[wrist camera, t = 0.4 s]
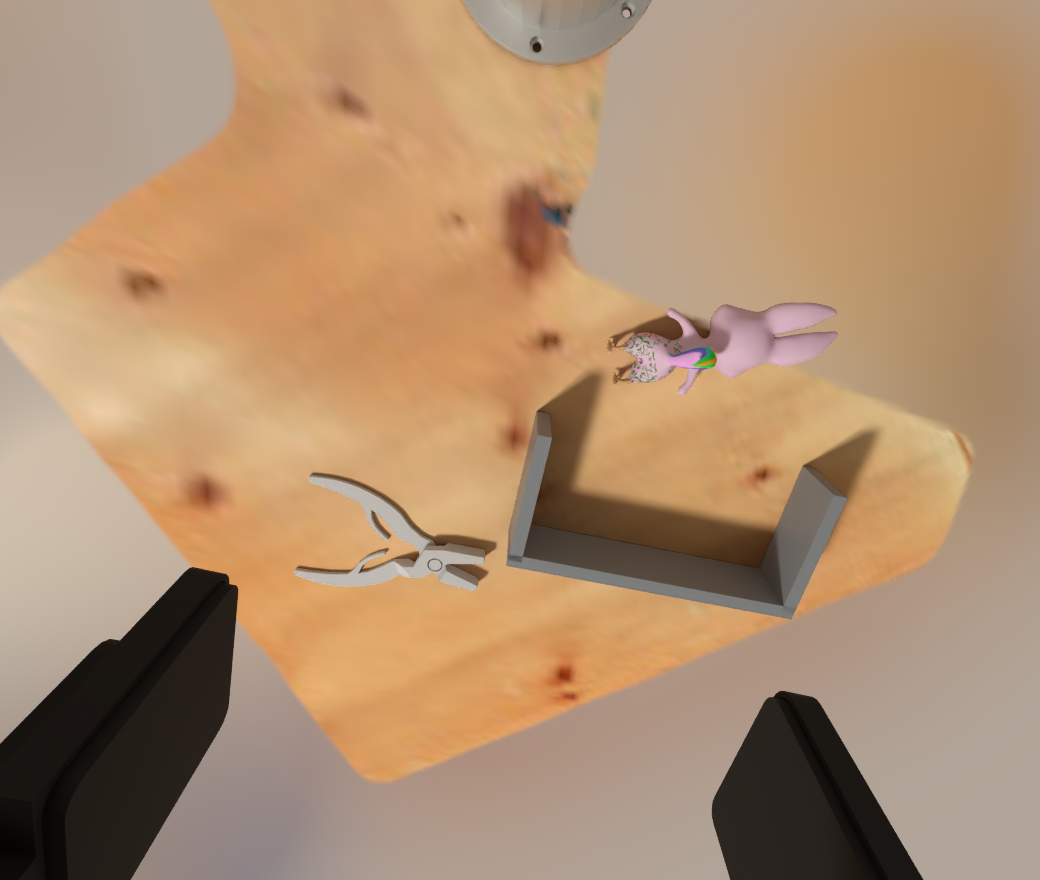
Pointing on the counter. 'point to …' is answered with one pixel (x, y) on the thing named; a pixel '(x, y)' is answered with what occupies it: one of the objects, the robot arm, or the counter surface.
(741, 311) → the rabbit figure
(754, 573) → the box
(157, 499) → the counter surface
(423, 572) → the pliers
